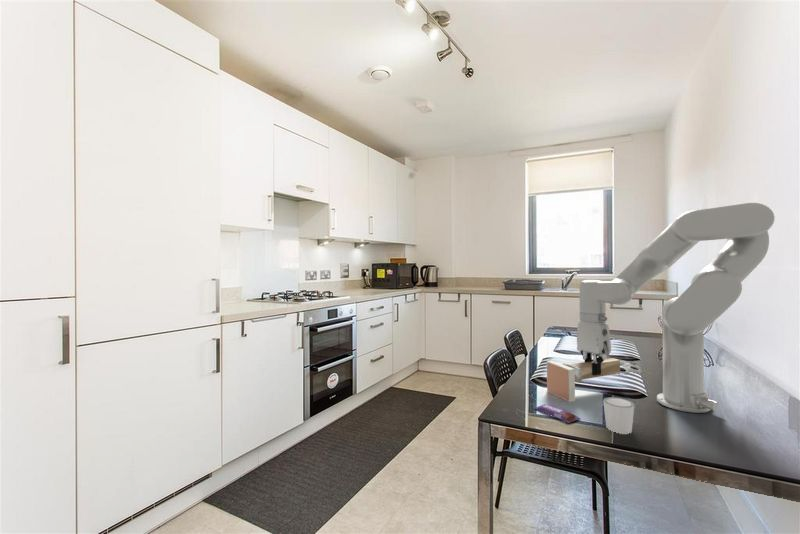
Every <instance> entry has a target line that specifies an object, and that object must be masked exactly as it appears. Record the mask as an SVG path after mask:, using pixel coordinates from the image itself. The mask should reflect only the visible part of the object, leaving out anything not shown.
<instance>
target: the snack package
mask: <svg viewBox="0 0 800 534" xmlns="http://www.w3.org/2000/svg"><path fill="white" fill-rule="evenodd" d="M534 409H535V410H537V411H538V410H539V412H541V411H542V412H541V413H543V412H544V414H545V413H547V414H546V415H548V414H549V415H548V416H550V415H552V416H554V417H553V418H555V417H556V418H555V419H557V418H559V419H561V420H560V421H562V420H563V421H562V422H564V421H565V422H564V423H568V424H570V423H572V422H575V421H578V420H580V419H582V418H581V417H579V416H577V415H576V414H575V413H573V412H571V411H569V410H566V409H563V408H561V407H558V406H557V405H556V406H555V405H553V404H548V403H547V404H542V405H538V406H535V407H534ZM552 416H551V417H552ZM559 419H558V420H559Z"/></svg>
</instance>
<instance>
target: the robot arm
mask: <svg viewBox="0 0 800 534" xmlns="http://www.w3.org/2000/svg"><path fill="white" fill-rule="evenodd" d="M774 224H775V213H774V211H773V210H772V209H771V207H769V206H768V205H765V204H763V203H759V202H745V203H739V204H733V205H732V204H731V205H724V206H717V207H710V208H701V209H695V210H693V209H692V210H688V211H685V212H683V213H682V214H680V215H679V216H678V217H676V218H675V219H674V220H673V221H672V222H671V223H669V225H668V226H667V227H666V228H665V229H664V230H662V232H660V233H659V234H658V235H657V236H655V238H653V239H652V241H651V242H650V243H649V244H647V245H646V246H645V247H644V248H643V249H642V250H641V251H640V252H639V254H638V255H637V256H636V257H635V259H634V260H633V261H632V262H631V263H630V264H629V265H628V266H626V268H625V269H623V270H622V271H621V272H620V273H619V274H617V276H616V277H614V278H613V280H611V281H603V280H599V279H585V280H581V282H579V287H578V288H579V319H578V323H577V329H576V330H577V332H576V350H577V351H578V352H579V353H580V354H581V355H582V359H583V361H584V362H591V361H593V362H594V363H592V375H594V376H595V375H601V363H603V361H604V360H605V359H610V358H611V355H610V354H611V352H612V341H611V333H610V332H611V331H610V328H609V324H608V322H607V321H608V317H607V316H606V304H611V305H622V306H623V305H626V304H628V303H629V302H631V301H632V299H633V297H634V295H636V293H638V292H639V290H640V289H641V288H643V287H644V286H645V285H646V284H647V283H649V282H650V281H651V280H653V279H654V278H655V277H657V276H658V275H660V274H662V273H664V272H666V271H667V270H669V268H671V267H672V266H673V265H674V264H676V263H677V262H678V261H679V259H681V258H682V257H683V256H685V255H686V254H687V253H688V252H689V251H690V250H691V249H692V248H694V247H695V246H696V245H697V244H698V243H699V242H702V241H703V242H704V241H705V242H706V241H717V240H726V242H725V245H724V246H723V248H722V249H720V251H719V252H718V253H717V254H716V255H715V257H713V258H711V260H710V261H709V262H708V263H707V264H706V265H705V266H704V267H703V268H702V269H701V270H699V271H698V272H697V273H695V275H694V276H693V278H692V279H691V283H690V285H689V286H688V287H687V289H685V290H684V291H683V292H682V293H681V295H679V296H676V297H673V298H670V299H667V301H666V302H665V303H664V305H663V306H662V308H661V327H662V329H661V330H662V332H661V333H662V392H661V393H658V394H657V395H656V401H657V402H658V403H659V404H660V405H662V406H665V407H666V408H669V409H673V410H676V411H681V412H686V413H695V414H696V413H697V414H702V413H708V412H711V411H713V412H716V411H718V407H719V402H718V401H716V400H712V399H709V393H707V392H705V377H704V376H705V369H704V367H705V366H704V365H705V363H704V362H705V361H704V360H705V358H704V354H705V345H704V344H705V343H704V340H705V339H704V331H705V330H706V329H707V328H709V327H710V326H711V325H712V324H713V323H714V322H715V321H716V320H718V318H720V317H721V316H722V315H723V314H724V313H725V312H726V311H727V310H728V309H729V308H731V306H732V305H733V304H734V303H736V302H737V300H738V299H739V297H741V293H742V291H743V285H742V282H743V281H744V280H746V278H747V277H748V276H749V275H750V274H751V273H752V272H753V271H754V270H755V269H756V268H757V267H758V266H759V265H760V264H761V262H762V261H763V260H764V258H765V257H766V255H767V254H768V249H769V246H770V235H769V232H768V231H769V230H770V229H771V227H772V226H773V225H774ZM606 322H607V323H606ZM592 359H593V360H592Z"/></svg>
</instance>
